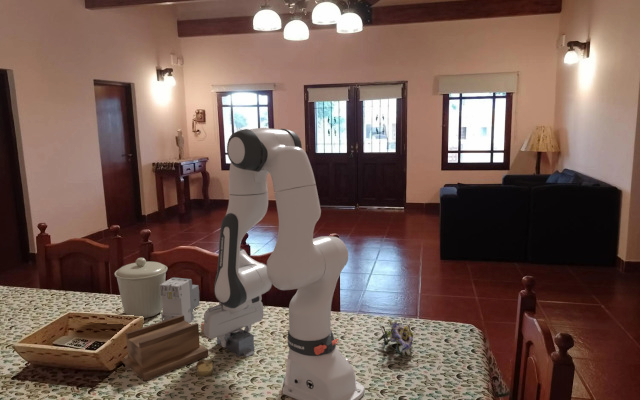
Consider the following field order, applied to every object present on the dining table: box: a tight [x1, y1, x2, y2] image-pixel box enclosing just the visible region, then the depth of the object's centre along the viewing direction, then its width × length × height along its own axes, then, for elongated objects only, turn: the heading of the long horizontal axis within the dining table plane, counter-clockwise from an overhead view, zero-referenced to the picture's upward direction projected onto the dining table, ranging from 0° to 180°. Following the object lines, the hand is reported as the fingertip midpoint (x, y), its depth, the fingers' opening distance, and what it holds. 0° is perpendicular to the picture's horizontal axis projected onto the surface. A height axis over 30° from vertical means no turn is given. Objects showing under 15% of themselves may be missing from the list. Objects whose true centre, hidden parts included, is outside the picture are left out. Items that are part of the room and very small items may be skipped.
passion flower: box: [377, 319, 414, 357], centre depth 146 cm, size 11×11×12 cm
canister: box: [114, 257, 168, 319], centre depth 175 cm, size 18×18×21 cm
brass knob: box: [196, 359, 214, 378], centre depth 134 cm, size 4×4×3 cm
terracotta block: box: [200, 322, 204, 333], centre depth 161 cm, size 6×4×3 cm, turn 56°
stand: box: [122, 315, 209, 382], centre depth 142 cm, size 16×20×10 cm
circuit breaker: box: [160, 277, 200, 324], centre depth 170 cm, size 8×14×15 cm, turn 164°
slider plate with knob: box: [216, 328, 255, 358], centre depth 149 cm, size 16×6×6 cm, turn 45°
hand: (235, 342), depth 149 cm, fingers open, 6 cm apart
